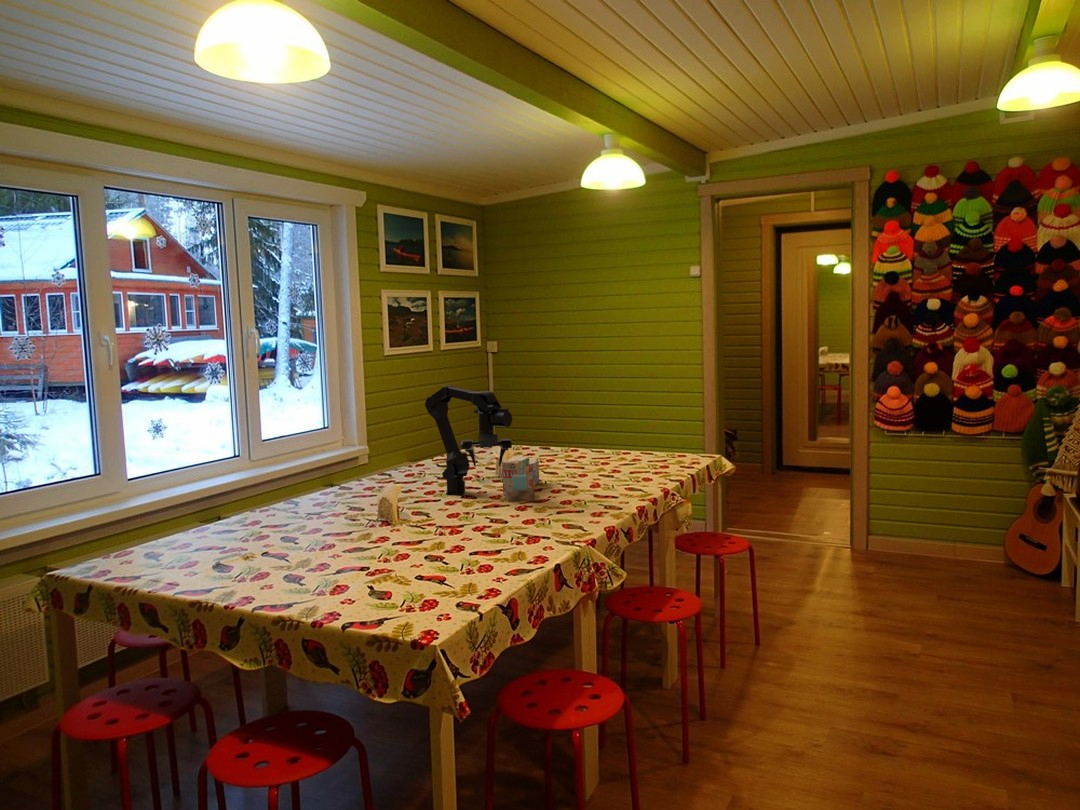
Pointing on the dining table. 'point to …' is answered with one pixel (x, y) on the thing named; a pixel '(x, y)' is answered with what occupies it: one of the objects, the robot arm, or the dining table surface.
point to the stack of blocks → (520, 470)
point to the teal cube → (519, 482)
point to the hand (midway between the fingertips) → (487, 466)
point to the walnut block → (519, 494)
